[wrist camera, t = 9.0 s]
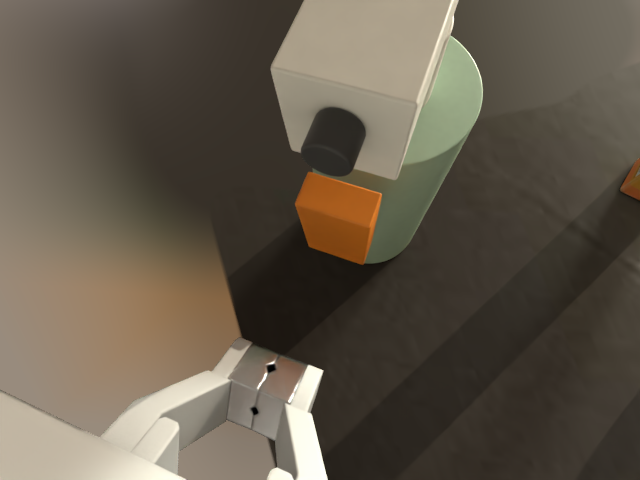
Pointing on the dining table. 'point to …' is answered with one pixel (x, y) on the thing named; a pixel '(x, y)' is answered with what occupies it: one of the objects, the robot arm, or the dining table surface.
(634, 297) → the dining table surface
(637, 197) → the supplement box
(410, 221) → the spray bottle
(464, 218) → the dining table surface
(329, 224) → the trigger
